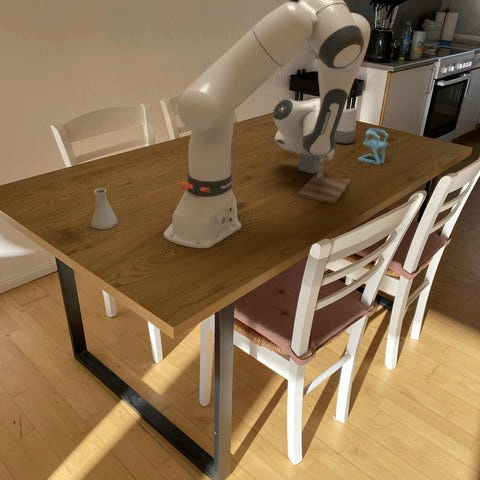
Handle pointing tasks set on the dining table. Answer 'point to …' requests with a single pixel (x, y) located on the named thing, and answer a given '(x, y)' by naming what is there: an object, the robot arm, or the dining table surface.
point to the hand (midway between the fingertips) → (311, 157)
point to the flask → (103, 212)
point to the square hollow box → (308, 163)
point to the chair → (375, 146)
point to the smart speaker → (346, 127)
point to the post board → (324, 187)
